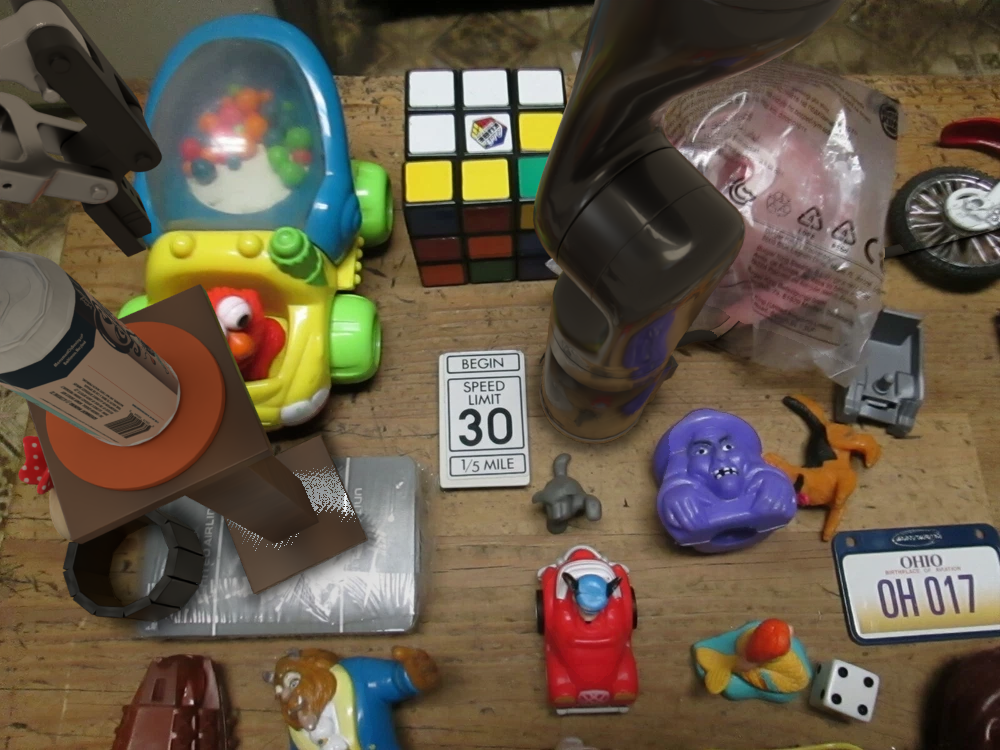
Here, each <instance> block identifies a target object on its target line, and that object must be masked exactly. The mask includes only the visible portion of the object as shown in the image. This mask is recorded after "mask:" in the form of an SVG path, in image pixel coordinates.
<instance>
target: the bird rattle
mask: <svg viewBox="0 0 1000 750" xmlns="http://www.w3.org/2000/svg"><path fill="white" fill-rule="evenodd" d="M22 445H23V452H24V456H25V461H24V463H23V465H22V466H21V467H20V469H19V471H18V475H17V476H18V479H19V481H21V482H23V483H25V484H27V485H30V486H31V485H32V486H37V487H36V492H37V494H38V495H45V494H47V493H48V492H49V496H48V497H49V498H48V507H49V514H50V519H51V522H52V525H53V527H54V529H55V531H56V532H57V534H59V536H61V537H62V538H63V539H65V540H67V541H69V542H73V541H72V540H71V537H70V534H69V531H68V528H67V525H66V522H65V519H64V516H63V513H62V510H61V507H60V503H59V500H58V497H57V494H56V491H55V488H54V485H53V482H52V479H51V476H50V473H49V470H48V466H47V463H46V460H45V457H44V454H43V451H42V448H41V445H40V442H39V439H38V436H36V435H26V436H24V437H23V438H22Z"/></svg>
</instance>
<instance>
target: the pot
mask: <svg viewBox="0 0 1000 750" xmlns="http://www.w3.org/2000/svg"><path fill="white" fill-rule="evenodd" d="M150 525H151V526H159V527H160V529H161V532H162V535H163V538H164V541H165V543H166V546H167V548H168V551H167V554H166V555H167V556H166V562H165V567H164V572H163V575H162V576H161V578H160V579H159V580H158V581H157V582H156V584H155V585H154V587H153V588H152V589H151V591H150V592H149V593H148V594H147V595H145V596H143V597H141V598H139V599H137V600H135V601H133V602H131V603H129V604H127V605H126V604H124V603H123V602H122V601H121V600H119V599H118V598H116V597H115V593H114V590H113V587H112V584H111V582H110V578H109V573H110V568H111V563H112V559H113V554H114V553H115V551H116V550H117V549H118V548H119V546H120V545H121V544H122V543H123V542H124V540H125V539H126V538H127V537H128V535H130V534H132V533H134V532H137V531H138V530H141V529H143V528H145V527H148V526H150ZM195 531H196V530H194V529H193V528H192V527H190V526H189V525H188V524H186V523H185V522H184V521H182V520H181V519H180V518H178V517H176V516H174V515H173V514H170V513H167V512H165V511H163V510H161V509H160V508H158V509H156V510H153V511H151V512H149V513H147V514H145V515H143V516H141V517H138V518H136V519H134V520H132V521H130V522H128V523H126V524H123V525H121V526H119V527H117V528H115V529H113V530H111V531H109V532H106V533H104V534H102V535H100V536H98V537H96V538H94V539H91V540H89V541H87V542H85V543H83V544H80V543H76V542H73V541H68V543H67V548H66V552H65V557H64V561H63V565H62V570H63V571H62V575H63V577H64V581H65V584H66V587H67V591H68V593H69V596H70V598H72V600H73V602H75V603H76V604H77V605H79V606H80V607H81V608H82V609H83V610H85V611H86V612H88V613H89V614H90V615H92V616H95V617H98V618H105V619H114V620H121V621H133V622H147V623H153V622H159V621H161V620H163V619H165V618H167V617H168V616H169V617H170V616H171V615H173V614H175V613H177V612H178V611H181V610H182V609H181V608H184V607H185V606H186V605H187V603H188V602H189V601H190V599H191V598H192V597H193V596H194V594H195V593H196V592H197V590H198V589H199V587H200V585H199V584H202V580H203V573H204V567H205V562H206V557H205V556H206V553H205V551H204V549H203V547H202V543H201V540H200V537H199V535H198V533H197V532H195Z"/></svg>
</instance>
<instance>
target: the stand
mask: <svg viewBox="0 0 1000 750" xmlns="http://www.w3.org/2000/svg"><path fill="white" fill-rule="evenodd" d="M202 285H203V284H200V283H199V284H196V285H194V286H192V287H190V288H187V289H185V290H183V291H180V292H178V293H175V294H173V295H171V296H169V297H167V298H163V299H161V300H159V301H157V302H154V303H152V304H150V305H148V306H145V307H143V308H141V309H138V310H136V311H134V312H132V313H129V314H127V315H125V316H122V317H120V318H118V319H119V320H120V321H121V322H122V323H123V324H128V323H135V322H158V323H165V324H169V325H173V326H175V327H178V328H180V329H183V330H185V331H186V332H188V333H190V334H192V335H193V336H194V337H196V338H197V339H198V340H200V341H201V342H202V344H203V345H204V346H205V347H206V348H207V349H208V350H209V351H210V352H211V354H212V355H213V356H214V358H215V359H216V361H217V363H218V365H219V367H220V369H221V372H222V376H223V379H224V385H225V408H224V413H223V417H222V421H221V424H220V426H219V429H218V431H217V433H216V435H215V437H214V439H213V441H212V442H211V444H210V445H209V447H208V448H207V450H206V451H205V452H204V453H203V454H202V456H201V457H200V458H199V459H198V460H197V461H196V462H195V463H194V464H193V465H191V466H190V467H189V468H188V469H187V470H185V471H184V472H182V473H181V474H179V475H178V476H176V477H174V478H172V479H171V480H169V481H167V482H164V483H162V484H159V485H157V486H154V487H150V488H146V489H141V490H133V491H118V490H110V489H106V488H102V487H98V486H96V485H94V484H91V483H89V482H87V481H84V480H83V479H81V478H79V477H78V476H76V475H75V474H73V473H72V472H71V471H70V470H69V469H67V468H66V467H65V466H64V464H63V463H62V462H61V461H60V460H59V458H58V457H57V455H56V453H55V452H54V450H53V448H52V445H51V443H50V440H49V436H48V432H47V425H46V410H45V409H43V408H41V407H39V406H38V405H36V404H34V403H32V402H30V401H29V400H27V399H25V402H26V405H27V407H28V411H29V414H30V417H31V420H32V423H33V427H34V429H35V432H36V435H37V437H38V439H39V442H40V445H41V448H42V451H43V454H44V457H45V460H46V463H47V466H48V470H49V473H50V476H51V479H52V482H53V485H54V488H55V491H56V494H57V497H58V500H59V503H60V507H61V510H62V513H63V516H64V519H65V522H66V525H67V528H68V531H69V534H70V537H71V540H72V541H71V542H76V543H80V544H83V543H85V542H87V541H89V540H91V539H94V538H96V537H98V536H100V535H102V534H104V533H106V532H109V531H111V530H113V529H115V528H117V527H119V526H121V525H123V524H126V523H128V522H130V521H132V520H134V519H136V518H138V517H141V516H143V515H145V514H147V513H149V512H151V511H153V510H156V509H160V508H162V507H164V506H166V505H168V504H170V503H173V502H175V501H177V500H179V499H182V498H183V497H186V498H188V499H190V500H192V501H193V502H195V503H197V504H199V505H201V506H203V507H205V508H207V509H209V510H210V511H212V512H214V513H216V514H218V515H219V516H221V517H223V520H224V521H225V524H226V528H227V529H228V532H229V534H230V537H231V540H232V542H233V545H234V548H235V550H236V552H237V555H238V558H239V560H240V563H241V565H242V568H243V571H244V573H245V576H246V578H247V581H248V584H249V586H250V588H251V592H252V593H253V595H256V596H258V595H260V594H262V593H264V592H266V591H268V590H271V589H272V588H275V587H276V586H279V585H280V584H283V583H284V582H286V581H288V580H291V579H292V578H295V577H296V576H297V577H298V576H299V575H301V574H304V573H305V572H307V571H309V570H310V569H313V568H315V567H317V566H319V565H321V564H323V563H325V562H327V561H329V560H331V559H333V558H335V557H337V556H339V555H341V554H343V553H345V552H347V551H350V550H351V549H353V548H355V547H357V546H359V545H361V544H363V543H366V542H368V541H369V538H368V535H367V534H366V532H365V530H364V527H363V525H362V523H361V521H360V518H359V516H358V513H357V511H356V509H355V507H354V505H353V502H352V500H351V498H350V495H349V493H348V492H347V491H348V490H347V489H346V487H345V484H344V481H343V480H342V478H341V475H340V473H339V470H338V469H337V466H336V464H335V462H334V459H333V457H332V455H331V453H330V450H329V448H328V446H327V443H326V441H325V439H324V437H323V436H322V434H319V435H316V436H314V437H312V438H309V439H308V440H305V441H304V442H301V443H299V444H297V445H295V446H293V447H290V448H289V449H286V450H284V451H282V452H280V453H277V454H275V451H274V449H273V446H272V445H271V442H270V440H269V437H268V435H267V432H266V430H265V428H264V425H263V423H262V421H261V418H260V415H259V413H258V410H257V409H256V405H255V404H254V401H253V399H252V397H251V394H250V392H249V389H248V387H247V384H246V382H245V379H244V377H243V375H242V372H241V370H240V368H239V366H238V363H237V360H236V358H235V356H234V354H233V351H232V349H231V346H230V344H229V342H228V339H227V337H226V334H225V332H224V329H223V327H222V325H221V322H220V320H219V318H218V315H217V313H216V311H215V307H214V306H213V303H212V301H211V298H210V295H209V294H208V291H207V290H206V289H205V288H204V286H202ZM274 454H275V455H274ZM332 465H333V467H332ZM326 466H327V467H326ZM324 467H326V468H325V469H324ZM331 467H332V468H331ZM313 468H314V469H313ZM328 468H329V469H328ZM334 468H335V470H333V469H334ZM317 469H318V470H317ZM322 469H324V470H323V471H322ZM331 469H332V470H333V471H332V470H331ZM296 470H297V471H296ZM301 470H302V471H301ZM306 470H307V471H306ZM320 470H321V472H320ZM326 470H328V471H326ZM309 471H311V472H309ZM315 471H316V472H315ZM325 471H326V473H324V472H325ZM329 471H332V473H334V472H336V474H335V476H336V475H338V476H336V477H339V479H338V481H339V480H340V481H339V482H341V485H342V486H343V488H342V487H341V488H342V489H344V491H345V492H344V493H346V495H347V498H348V500H349V502H350V504H349V505H351V507H352V508H351V507H350V508H351V509H350V510H352V509H353V511H354V513H355V515H354V513H353V516H352V515H351V513H352V512H350V513H349V511H348V512H347V513H349V514H348V515H347V516H345V514H346V512H343V514H341V513H342V512H341V511H342V510H344V509H343V508H342V507H341V509H340V510H338V512H337V509H338V507H336V508H335V509H334V510H333V511H331V509H333V507H334V506H333V505H332V506H331V507H330V508H329V509H328V510H327V507H328V506H327V505H330V503H331V502H330V501H329V503H328V504H326V506H325V507H324V508H323V510H322V511H321V512H320V511H319V509H321V508H322V506H321V505H319V504H316V503H315V502H314V503H315V504H316V505H317V506H318V507H319V508H318V509H317V510H316V511H314V509H313V508H314V507H312V505H311V504H312V503H311V502H310V499H309V498H308V495H307V493H306V491H307V490H305V487H306V486H307V485H308V484H309V483H308V484H307V485H306V486H305V487H304V486H303V484H302V481H303V482H304V481H305V480H302V481H301V480H300V478H298V477H297V476H298V475H299V477H300V476H302V477H304V476H303V475H306V474H307V476H305V478H308V476H311V477H312V476H315V475H316V473H318V472H319V474H322V473H324V475H325V474H327V473H329ZM293 472H294V474H293ZM313 472H314V474H312V475H311V473H313ZM297 473H299V474H298V475H297V476H295V474H297ZM303 473H304V474H303ZM308 473H309V474H308ZM300 474H303V475H300ZM319 474H318V475H317V476H316V477H319V478H321V477H322V478H323V476H324V475H323V476H321V477H320V475H319ZM329 475H330V476H331V477H332V475H333V474H332V475H331V472H330V474H329ZM330 476H327V477H330ZM302 477H301V478H302ZM311 477H310V478H311ZM327 477H326V478H327ZM333 477H334V475H333ZM333 477H332V478H333ZM305 478H304V479H305ZM310 478H309V479H310ZM322 478H321V480H322ZM324 478H325V476H324ZM314 479H315V478H313V479H312V481H313V480H314ZM333 479H335V478H333ZM316 480H317V479H316ZM316 480H315V481H316ZM318 480H319V479H318ZM324 480H325V479H324ZM326 480H327V479H326ZM330 480H331V479H329V480H328V482H329V481H330ZM307 481H309V480H307ZM307 481H305V482H307ZM312 481H311V483H312ZM319 481H320V480H319ZM332 481H333V480H332ZM332 481H331V483H332ZM334 481H335V480H334ZM309 482H310V481H309ZM320 482H321V481H320ZM320 482H319V483H320ZM325 482H326V483H327V481H325ZM336 482H337V481H336ZM339 482H337V483H339ZM311 483H310V484H311ZM337 483H336V484H337ZM310 484H309V485H310ZM328 484H329V483H328ZM328 484H327V485H328ZM311 485H312V484H311ZM311 485H310V487H311V489H312V488H313V487H312V486H311ZM313 485H314V484H313ZM318 485H319V484H318ZM320 485H321V484H320ZM320 485H319V486H320ZM327 485H326V486H327ZM330 485H331V484H330ZM330 485H329V486H330ZM332 485H333V483H332ZM337 485H338V484H337ZM341 485H340V486H341ZM315 486H317V483H316V485H314V487H315ZM323 486H324V484H323ZM317 487H318V486H317ZM321 487H322V486H321ZM321 487H320V488H321ZM324 487H325V486H324ZM330 487H331V486H330ZM334 487H335V483H334ZM334 487H332V488H334ZM328 488H329V487H328ZM337 488H338V487H337ZM306 489H309V488H306ZM317 489H319V488H317ZM329 489H330V488H329ZM342 489H341V490H342ZM330 490H331V491H332V493H333V490H332V489H330ZM335 490H336V489H335ZM313 491H314V489H313ZM313 491H312V492H313ZM324 491H327V490H324ZM307 492H308V491H307ZM335 492H336V491H335ZM335 492H334V493H335ZM337 492H338V491H337ZM337 492H336V493H337ZM339 492H340V491H339ZM317 493H318V492H317ZM327 493H328V492H327ZM313 494H314V492H313ZM313 494H312V495H313ZM319 494H320V493H319ZM330 494H331V493H330ZM325 495H326V494H325ZM337 495H338V494H337ZM309 496H310V495H309ZM323 496H324V494H323ZM326 496H327V495H326ZM338 496H340V495H338ZM341 496H343V495H341ZM344 496H345V495H344ZM344 496H343V497H344ZM310 497H311V496H310ZM313 497H314V496H313ZM324 497H325V496H324ZM324 497H323V498H324ZM332 497H333V496H332ZM314 498H315V497H314ZM314 498H313V499H314ZM321 498H322V497H321ZM325 498H327V497H325ZM328 498H329V497H328ZM333 498H335V497H333ZM336 498H337V499H338V497H336ZM319 499H320V495H319ZM322 500H323V499H322ZM327 500H328V499H327ZM327 500H325V501H327ZM329 500H330V498H329ZM334 500H336V499H334ZM341 500H342V498H341ZM316 501H317V500H316ZM320 501H321V500H320ZM323 501H324V500H323ZM323 501H322V505H323V506H324V504H323V503H325V502H323ZM332 501H333V500H332ZM343 501H344V500H343ZM346 501H347V500H346ZM312 502H313V501H312ZM318 502H319V501H318ZM336 502H337V501H335V503H336ZM347 502H348V501H347ZM326 503H327V502H326ZM335 503H333V504H335ZM339 503H340V502H339ZM341 504H342V503H341ZM316 505H315V506H316ZM337 505H338V506H340V505H339V504H337ZM344 505H345V504H344ZM320 507H321V508H320ZM343 507H345V506H343ZM346 507H348V506H346ZM348 508H349V507H348ZM348 508H347V509H348ZM325 510H327V512H326V511H325ZM317 511H318V512H320V513H318V512H317ZM346 511H347V510H346ZM330 512H331V513H330ZM317 514H318V515H317ZM339 516H340V517H339ZM343 517H345V518H343ZM350 517H352V518H350ZM355 518H356V519H355ZM227 519H229V520H228V521H227ZM342 519H343V520H342ZM349 519H350V520H349ZM230 520H231V521H233V522H235V523H237V524H238V525H241V527H243V530H242V528H241V527H240V528H239V526H238V525H237V527H236V528H235V526H236V524H235V523H234V525H233V527H232V528H231V526H232V524H233V522H231V524H230V525H229V526H228V524H229V522H230ZM341 521H342V522H341ZM347 521H348V522H347ZM354 521H355V522H354ZM238 528H239V530H238ZM244 528H246V529H247V530H245V529H244ZM230 529H231V530H230ZM241 530H242V531H241ZM244 531H246V532H245V533H244ZM248 531H250V532H249V534H247V533H248ZM240 532H241V533H240ZM252 532H253V534H251V533H252ZM243 533H244V535H243ZM255 533H256V536H255V535H254V534H255ZM298 533H299V534H298ZM296 534H297V535H296ZM242 535H243V537H242ZM246 535H247V536H246ZM250 535H252V536H251V537H250ZM257 535H259V538H258V537H257ZM253 536H255V538H254V537H253ZM290 536H292V537H290ZM295 536H297V537H295ZM245 537H246V538H245ZM249 537H250V538H249ZM262 537H263V539H262V540H261V538H262ZM252 538H254V539H252ZM257 538H258V540H257ZM289 538H290V539H289ZM244 539H245V540H244ZM248 539H249V540H248ZM252 540H253V541H252ZM255 540H256V541H257V542H256V541H255ZM260 540H261V541H260ZM288 540H289V541H288ZM243 541H244V542H243ZM247 541H248V542H247ZM281 541H283V543H282V542H281ZM255 542H256V543H255ZM259 542H260V543H259ZM287 542H288V543H287ZM292 542H293V543H292ZM242 543H243V544H242ZM276 543H278V544H277V546H276V547H275V545H276ZM280 543H282V544H280ZM254 544H255V545H254ZM258 544H259V545H258ZM267 544H268V545H267ZM272 544H273V545H272ZM286 544H287V545H286ZM291 544H292V545H291ZM280 545H281V547H280ZM284 545H285V546H284ZM253 546H254V547H253ZM266 546H267V547H266ZM274 547H275V548H274ZM279 547H280V548H279ZM256 548H257V549H256ZM278 549H279V550H278ZM255 550H256V551H255Z"/></svg>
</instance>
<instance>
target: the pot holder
mask: <svg viewBox="0 0 1000 750" xmlns="http://www.w3.org/2000/svg"><path fill="white" fill-rule="evenodd" d="M124 325H125V326H127V327H128V328H129V329H130V330H131V331H132V332H133V333H134V334H136V335H137V336H138V337H139V338H140V339H141V340H142V341H143V342H144V343H146V344H147V345H148V346H149V347H150V348H151V349H152V350H153V351H154V352H156V353H157V354H158V355H159V356H160V357H161V358H162V359H163V360H164V361H165V362H167V363H168V364H169V365H170V366H171V367H172V369H173V371H174V372H175V374H176V375H177V378H178V381H179V385H180V400H179V404H178V408H177V411H176V413H175V415H174V416H173V418H172V420H171V421H170V423H169V424H168V425H167V426H166V427H165V428H164V429H163V430H162V431H161V432H160V433H159V434H158V435H156V436H155V437H153V438H151V439H150V440H148V441H145V442H142V443H140V444H137V445H133V446H116V445H111V444H108V443H105V442H103V441H100V440H98V439H97V438H95V437H93V436H91V435H90V434H88V433H86V432H84V431H82V430H81V429H79V428H77V427H75V426H73V425H72V424H70V423H68V422H66V421H64V420H63V419H61V418H59V417H57V416H56V415H54V414H52V413H50V412H48V411H47V410H46V425H47V432H48V436H49V440H50V443H51V445H52V448H53V450H54V452H55V453H56V455H57V457H58V458H59V460H60V461H61V462H62V463H63V464H64V466H65V467H66V468H67V469H69V470H70V471H71V472H72V473H73V474H75V475H76V476H78V477H79V478H81V479H83V480H84V481H87V482H89V483H91V484H94V485H96V486H98V487H102V488H106V489H110V490H118V491H133V490H141V489H146V488H150V487H154V486H157V485H159V484H162V483H164V482H167V481H169V480H171V479H172V478H174V477H176V476H178V475H179V474H181V473H182V472H184V471H185V470H187V469H188V468H189V467H190V466H191V465H193V464H194V463H195V462H196V461H197V460H198V459H199V458H200V457H201V456H202V454H203V453H204V452H205V451H206V450H207V448H208V447H209V445H210V444H211V442H212V441H213V439H214V437H215V435H216V433H217V431H218V429H219V426H220V424H221V421H222V417H223V413H224V408H225V385H224V379H223V376H222V372H221V369H220V367H219V365H218V363H217V361H216V359H215V358H214V356H213V355H212V354H211V352H210V351H209V350H208V349H207V348H206V347H205V346H204V345H203V344H202V342H201V341H200V340H198V339H197V338H196V337H194V336H193V335H192V334H190V333H188V332H186V331H185V330H183V329H180V328H178V327H175V326H173V325H169V324H165V323H158V322H135V323H128V324H124Z"/></svg>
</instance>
